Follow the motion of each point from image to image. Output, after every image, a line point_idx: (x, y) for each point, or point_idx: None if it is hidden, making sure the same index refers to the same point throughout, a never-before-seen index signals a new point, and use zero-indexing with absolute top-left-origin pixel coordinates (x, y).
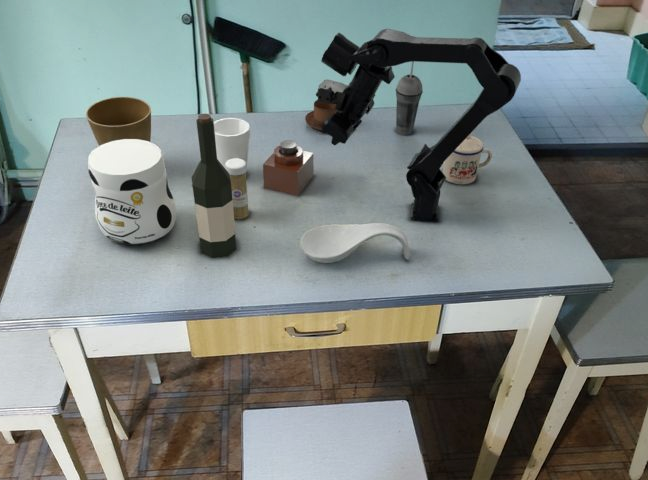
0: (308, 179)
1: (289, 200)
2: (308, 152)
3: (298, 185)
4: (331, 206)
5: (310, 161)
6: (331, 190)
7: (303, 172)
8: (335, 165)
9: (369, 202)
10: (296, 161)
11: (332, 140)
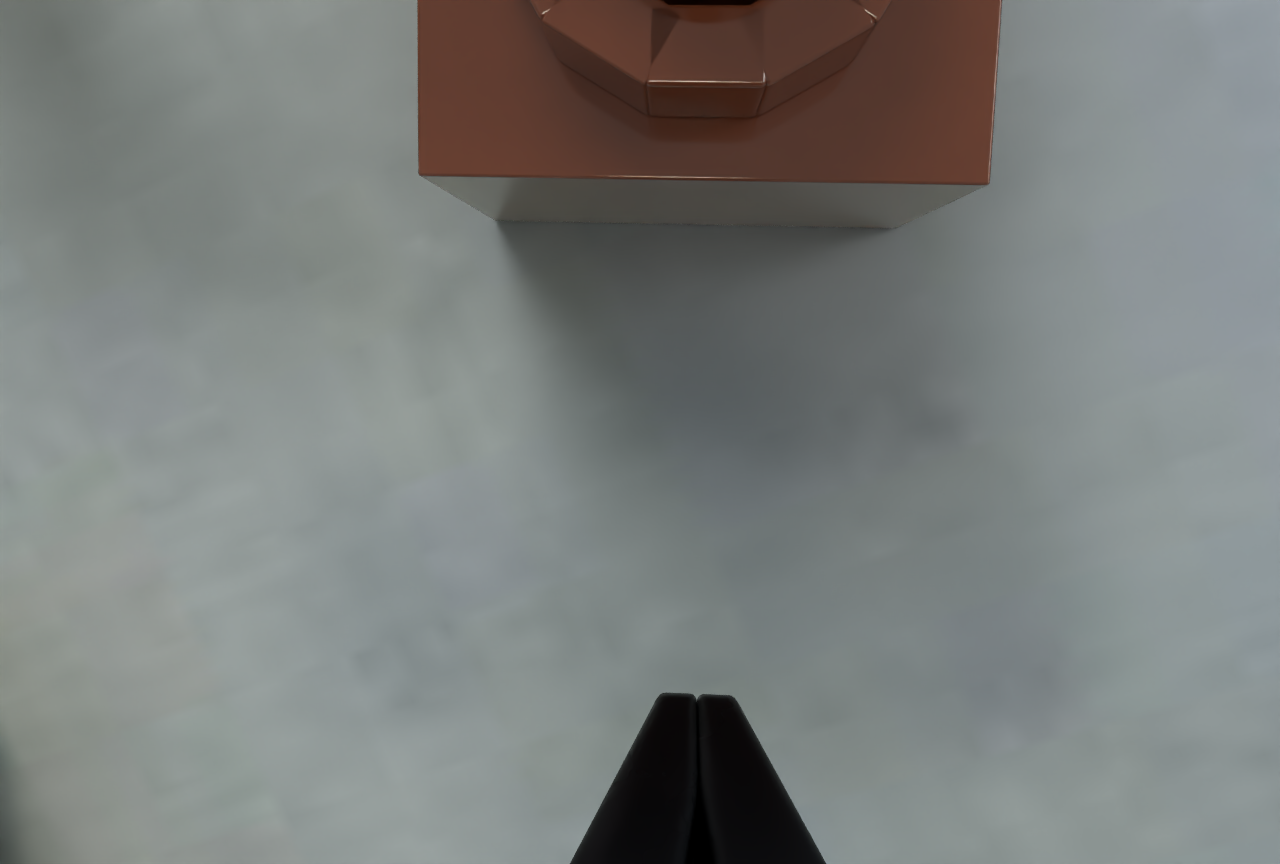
0: (774, 221)
1: (396, 176)
2: (979, 110)
3: (493, 207)
4: (461, 575)
5: (860, 194)
6: (717, 486)
7: (626, 197)
8: (1196, 364)
9: None
10: (589, 69)
11: (626, 763)
